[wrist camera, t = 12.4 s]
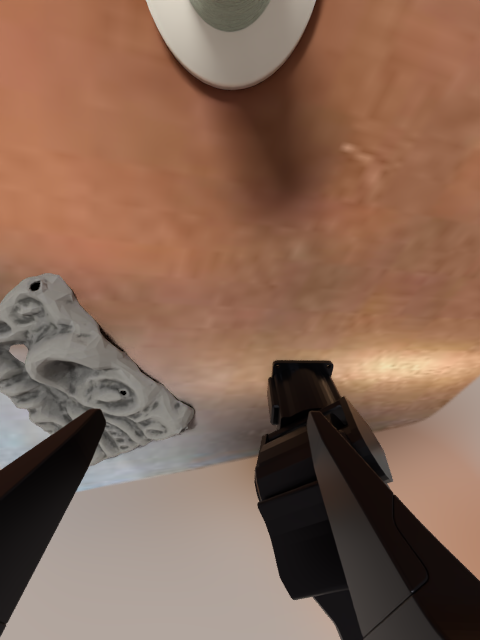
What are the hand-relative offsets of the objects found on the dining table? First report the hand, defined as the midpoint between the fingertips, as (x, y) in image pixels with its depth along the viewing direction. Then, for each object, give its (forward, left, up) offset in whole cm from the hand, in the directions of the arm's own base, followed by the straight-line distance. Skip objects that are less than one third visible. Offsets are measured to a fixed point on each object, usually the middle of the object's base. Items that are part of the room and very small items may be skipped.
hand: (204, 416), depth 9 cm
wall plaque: (+18, +10, -14) cm, 25 cm away
